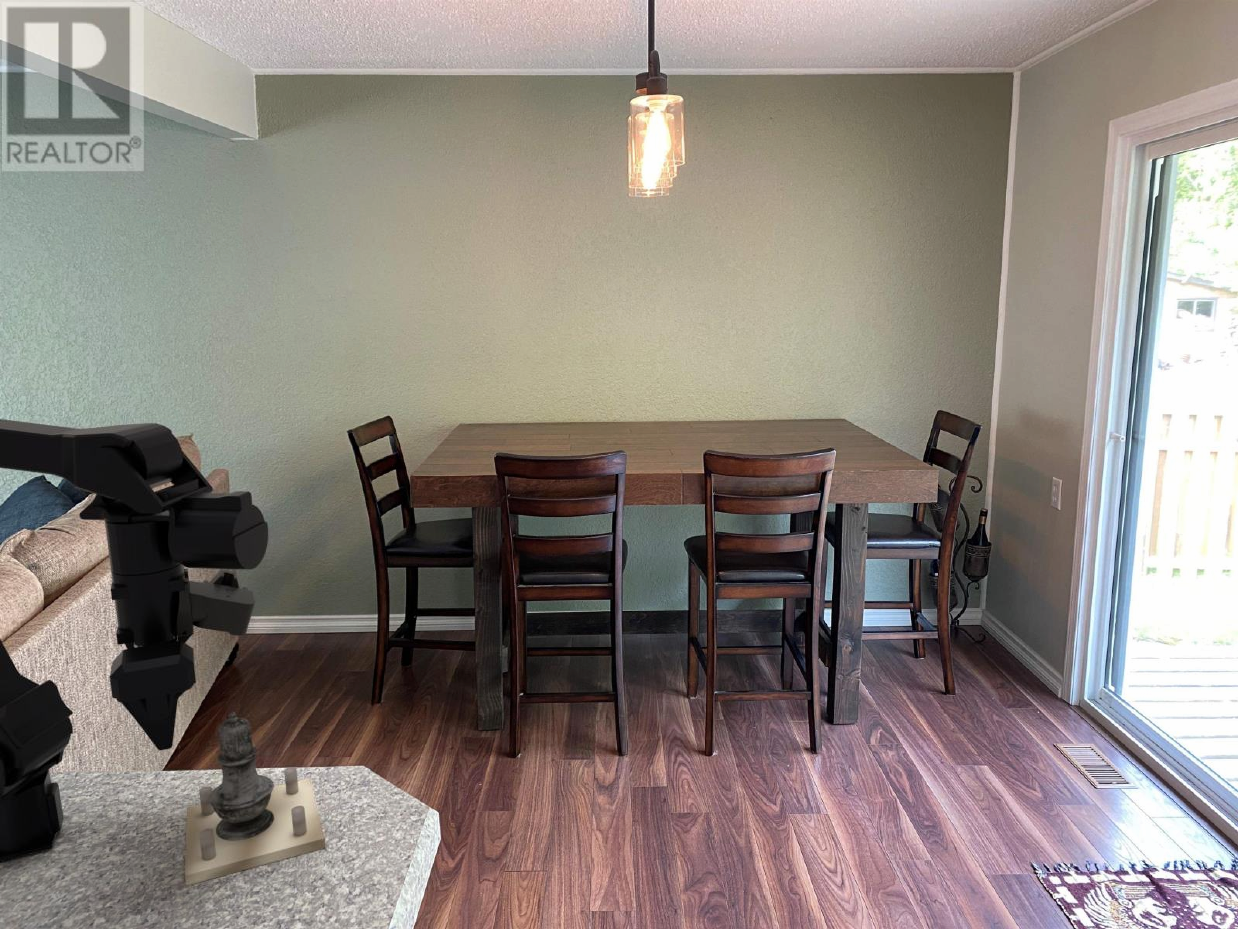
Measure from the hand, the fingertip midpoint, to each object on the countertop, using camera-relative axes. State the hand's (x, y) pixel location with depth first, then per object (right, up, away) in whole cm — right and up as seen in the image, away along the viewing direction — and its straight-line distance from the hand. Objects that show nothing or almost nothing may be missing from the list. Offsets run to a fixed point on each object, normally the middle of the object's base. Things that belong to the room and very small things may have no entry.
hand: (166, 726), depth 82 cm
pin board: (+6, -12, +5) cm, 14 cm away
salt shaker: (+5, -11, +5) cm, 13 cm away
